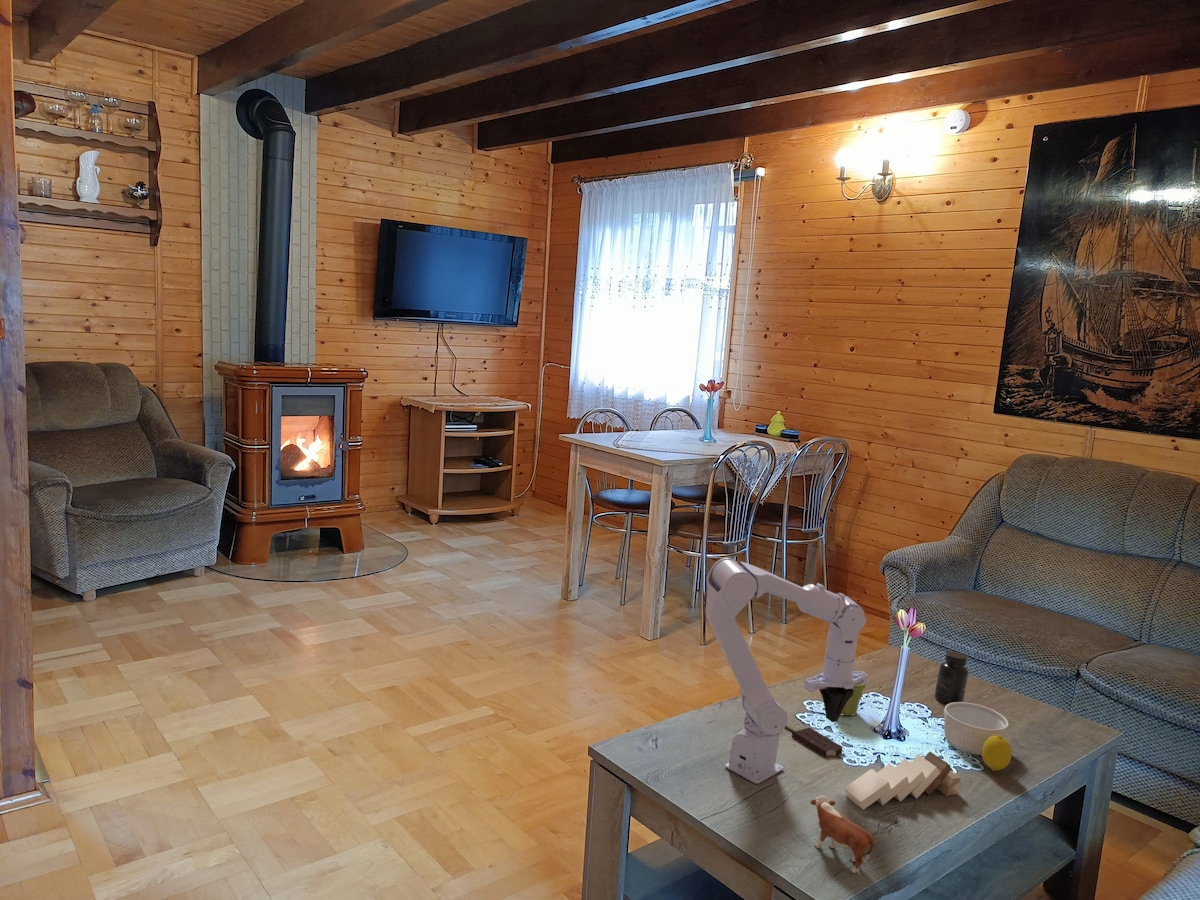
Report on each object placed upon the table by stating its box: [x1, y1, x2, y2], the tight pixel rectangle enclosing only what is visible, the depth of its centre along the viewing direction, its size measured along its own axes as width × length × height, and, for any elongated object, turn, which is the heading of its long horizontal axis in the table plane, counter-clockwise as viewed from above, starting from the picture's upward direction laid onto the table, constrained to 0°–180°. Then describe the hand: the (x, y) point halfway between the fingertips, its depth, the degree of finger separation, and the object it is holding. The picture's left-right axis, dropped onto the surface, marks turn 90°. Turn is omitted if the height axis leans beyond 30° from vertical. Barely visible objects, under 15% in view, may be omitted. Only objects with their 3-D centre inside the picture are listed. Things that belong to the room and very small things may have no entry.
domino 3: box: [893, 758, 925, 802], centre depth 170 cm, size 2×5×7 cm
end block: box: [935, 770, 962, 797], centre depth 174 cm, size 3×7×4 cm, turn 25°
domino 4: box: [909, 754, 940, 799], centre depth 171 cm, size 2×5×7 cm
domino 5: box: [923, 751, 952, 796], centre depth 173 cm, size 2×5×7 cm
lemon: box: [981, 735, 1012, 772], centre depth 182 cm, size 6×6×8 cm
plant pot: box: [841, 669, 869, 716], centre depth 203 cm, size 9×9×9 cm
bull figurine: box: [810, 795, 875, 874], centre depth 148 cm, size 4×13×8 cm, turn 33°
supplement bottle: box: [934, 651, 970, 705], centre depth 214 cm, size 7×7×12 cm
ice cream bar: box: [785, 721, 843, 758], centre depth 188 cm, size 5×2×15 cm
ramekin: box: [943, 701, 1009, 757], centre depth 193 cm, size 13×13×7 cm
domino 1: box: [843, 768, 891, 811], centre depth 166 cm, size 2×5×7 cm
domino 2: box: [875, 763, 910, 806], centre depth 168 cm, size 2×5×7 cm
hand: (831, 719), depth 176 cm, fingers closed
